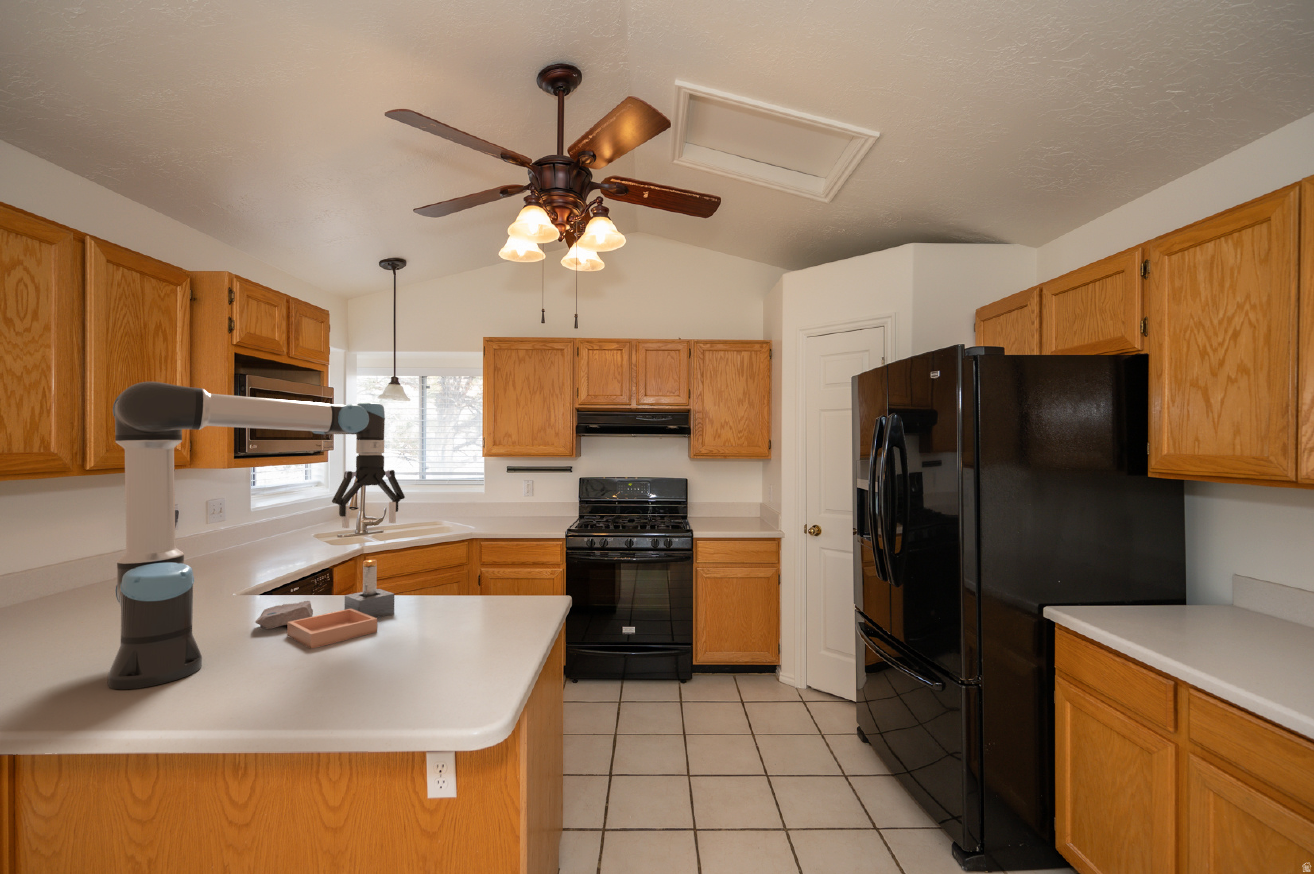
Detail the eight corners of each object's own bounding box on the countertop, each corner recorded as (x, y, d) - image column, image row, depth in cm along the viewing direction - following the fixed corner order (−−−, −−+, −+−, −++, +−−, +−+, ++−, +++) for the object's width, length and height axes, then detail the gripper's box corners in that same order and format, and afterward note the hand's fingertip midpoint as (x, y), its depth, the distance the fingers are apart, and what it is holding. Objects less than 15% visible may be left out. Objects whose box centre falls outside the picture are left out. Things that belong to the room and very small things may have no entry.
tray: (310, 648, 135) (311, 634, 135) (287, 635, 145) (287, 621, 145) (377, 631, 148) (377, 618, 148) (351, 620, 158) (351, 608, 158)
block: (359, 621, 157) (359, 600, 157) (344, 615, 163) (344, 595, 163) (394, 613, 164) (394, 593, 165) (378, 607, 171) (378, 588, 171)
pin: (365, 617, 161) (366, 562, 161) (360, 615, 163) (360, 561, 164) (378, 614, 164) (378, 560, 164) (372, 612, 166) (373, 559, 167)
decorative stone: (253, 635, 146) (254, 613, 146) (256, 626, 154) (257, 605, 154) (312, 627, 153) (313, 606, 153) (312, 618, 161) (312, 598, 161)
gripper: (330, 454, 153) (329, 531, 152) (416, 454, 173) (416, 521, 172) (319, 454, 158) (318, 528, 157) (404, 454, 177) (404, 520, 177)
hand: (369, 525), depth 165 cm, fingers open, 13 cm apart
